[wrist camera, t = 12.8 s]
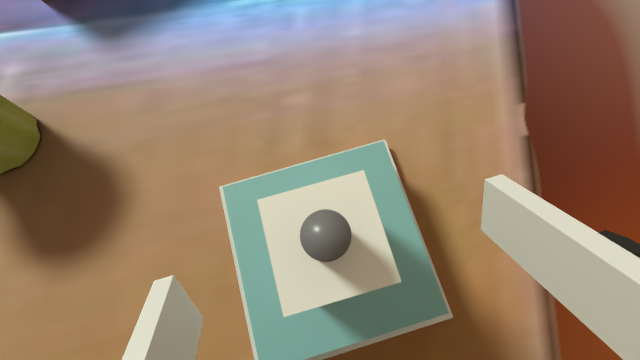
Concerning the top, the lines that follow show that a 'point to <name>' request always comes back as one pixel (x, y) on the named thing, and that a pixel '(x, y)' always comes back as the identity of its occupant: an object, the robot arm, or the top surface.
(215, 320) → the top surface
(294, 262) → the plug
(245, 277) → the socket
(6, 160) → the plant pot
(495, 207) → the robot arm
